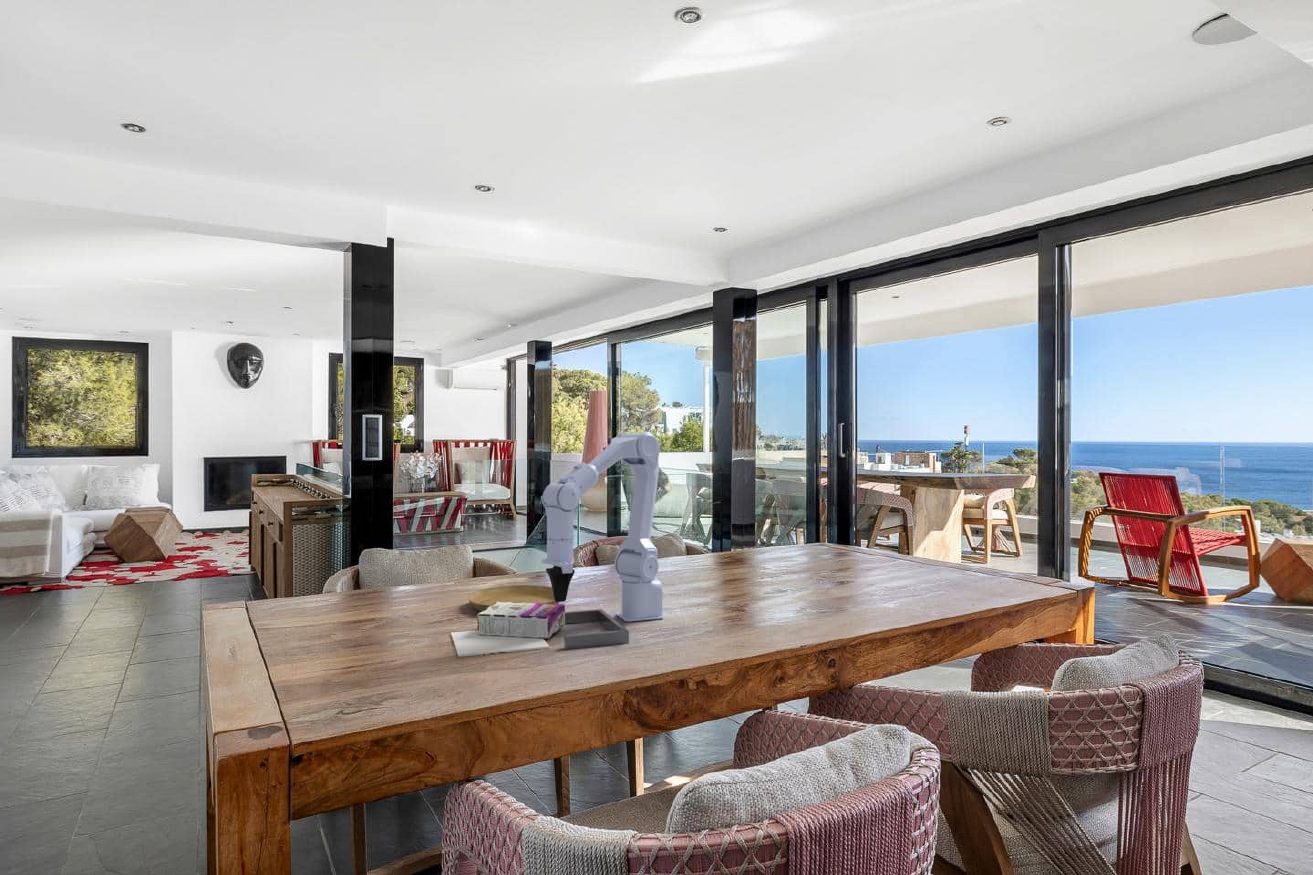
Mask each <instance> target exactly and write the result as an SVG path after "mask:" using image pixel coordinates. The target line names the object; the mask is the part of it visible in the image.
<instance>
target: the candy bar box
mask: <svg viewBox="0 0 1313 875" xmlns="http://www.w3.org/2000/svg"><path fill="white" fill-rule="evenodd" d="M565 612H566V605H565V603H558V604H542V603H519V602H496V603H494V604H493V605H491V606H490V607H488V608H487V609H485V610H483V611H482V612H480V611H479V612H478V613H477V615H476V616H477V630H478V635H488V636H508V637H527V638H543V639H544V640H545V639H547V640H548V639H550V638H551V637H553V635H554V634H556V633H557V632H559V630H560V629H562V628H563V627H564V626H565V625H566V624H565Z"/></svg>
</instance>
